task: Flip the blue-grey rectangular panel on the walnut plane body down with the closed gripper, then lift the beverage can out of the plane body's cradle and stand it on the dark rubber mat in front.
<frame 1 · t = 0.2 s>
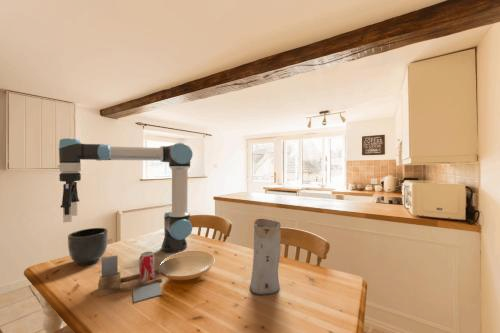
hand: (70, 218, 100), 28 cm above the table, fingers open, 13 cm apart
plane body: (130, 284, 95), on the table
blue-grey rectangular panel: (109, 266, 91), point 10 cm above the table, hinge at 0.0°
planter: (88, 262, 118), on the table
vase: (265, 288, 92), on the table
mat: (146, 292, 89), on the table
beverage can: (147, 280, 99), resting in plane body
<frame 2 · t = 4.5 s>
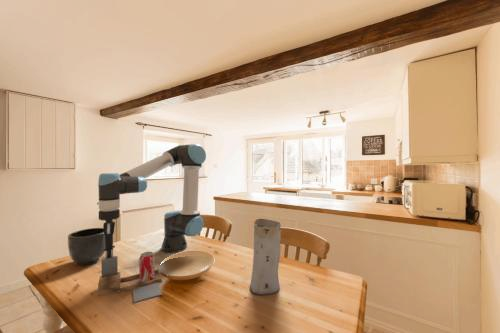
hand: (109, 264, 93), 10 cm above the table, fingers closed
blue-grey rectangular panel: (109, 266, 91), point 10 cm above the table, hinge at 5.1°, touching gripper
everything else where it was.
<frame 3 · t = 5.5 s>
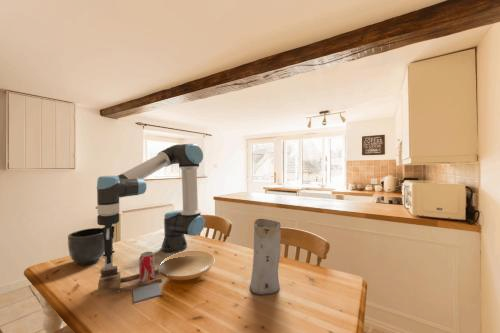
hand: (108, 270, 90), 9 cm above the table, fingers closed
blue-grey rectangular panel: (109, 272, 89), point 8 cm above the table, hinge at 48.0°, touching gripper
everything else where it was.
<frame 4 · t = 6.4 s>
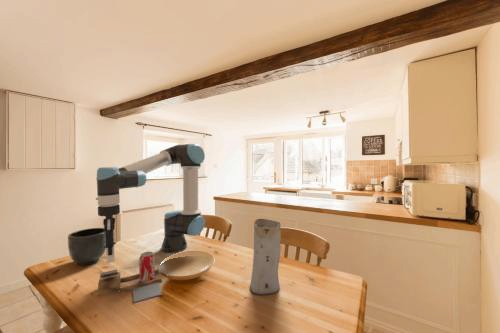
hand: (110, 261, 89), 13 cm above the table, fingers closed
blue-grey rectangular panel: (109, 273, 89), point 8 cm above the table, hinge at 59.2°
everything else where it was.
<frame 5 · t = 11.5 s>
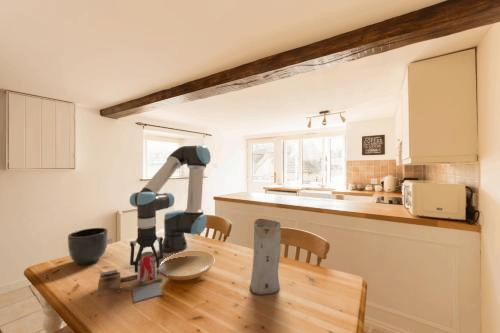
hand: (147, 276, 99), 1 cm above the table, fingers closed on beverage can, 6 cm apart
beverage can: (147, 280, 99), resting in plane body, touching gripper
everything else where it was.
when the fingers open (3 cm above the table, at t = 17.2 s): beverage can drops 1 cm, resting on mat.
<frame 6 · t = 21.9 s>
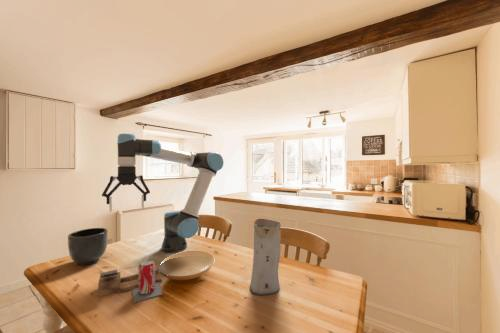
hand: (127, 209, 106), 31 cm above the table, fingers open, 13 cm apart
beverage can: (147, 291, 89), resting on mat
everything else where it was.
at the end: blue-grey rectangular panel at +59° (first picture: +0°); beverage can inside the target area on the mat (0.0 cm from its centre), point 0.2 cm above the mat's base; beverage can tilted 0° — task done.
